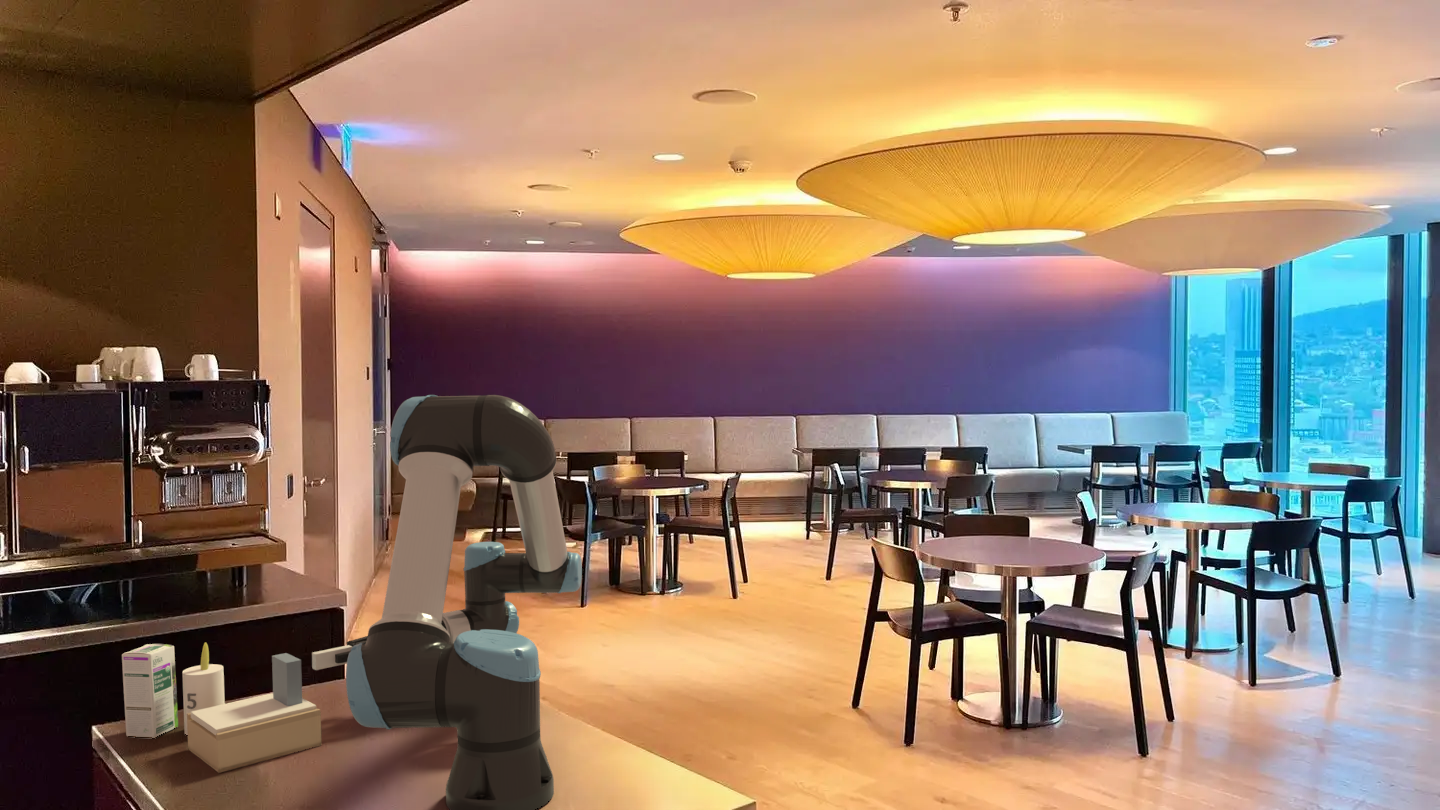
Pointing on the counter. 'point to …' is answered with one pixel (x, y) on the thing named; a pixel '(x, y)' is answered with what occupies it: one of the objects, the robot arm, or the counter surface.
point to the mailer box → (254, 740)
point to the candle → (202, 686)
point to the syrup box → (150, 690)
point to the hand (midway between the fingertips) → (314, 661)
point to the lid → (261, 701)
